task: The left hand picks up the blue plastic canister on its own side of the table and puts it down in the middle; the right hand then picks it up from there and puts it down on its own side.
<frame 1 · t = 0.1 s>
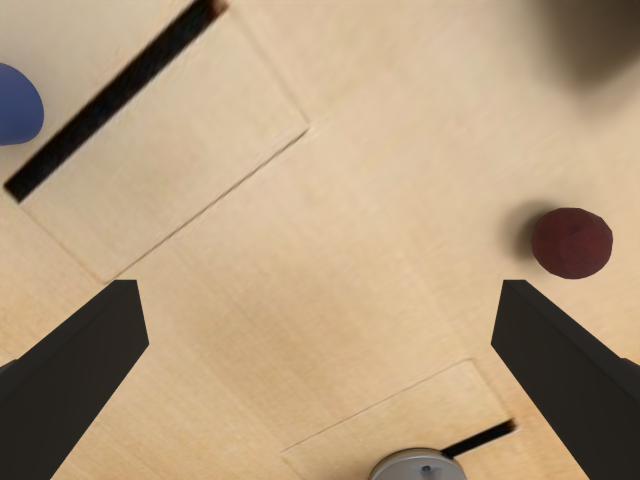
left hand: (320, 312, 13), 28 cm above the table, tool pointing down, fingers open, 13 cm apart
dark maroon ball: (549, 231, 41), on the table
canister: (4, 104, 36), on the table
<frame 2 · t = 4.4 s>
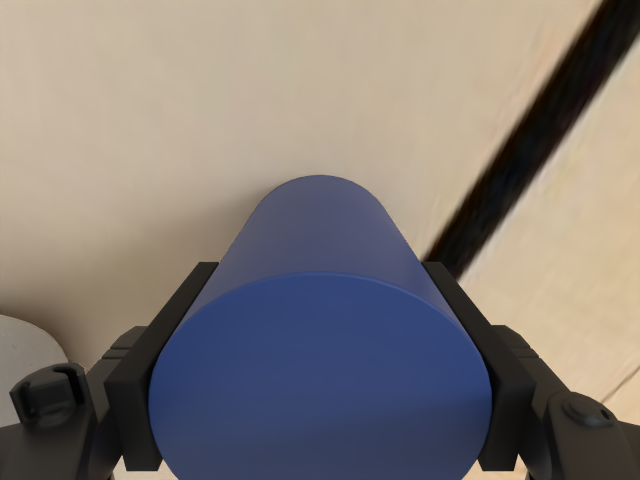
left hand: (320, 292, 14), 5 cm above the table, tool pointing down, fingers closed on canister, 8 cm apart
canister: (320, 250, 19), on the table, touching left hand
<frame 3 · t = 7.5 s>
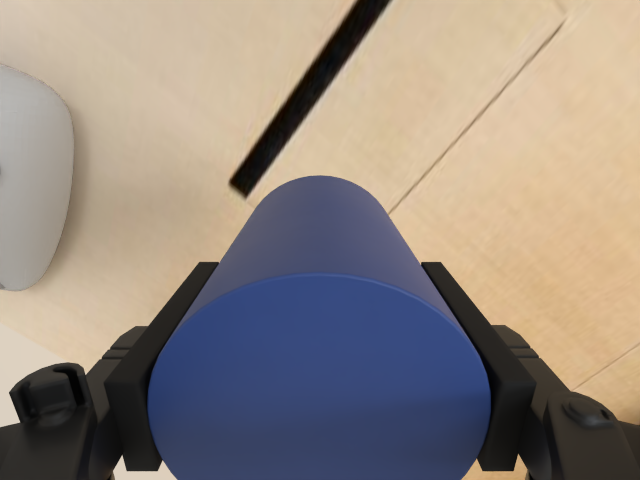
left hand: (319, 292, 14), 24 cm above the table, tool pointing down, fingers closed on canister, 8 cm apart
canister: (319, 250, 19), point 19 cm above the table, touching left hand
projector: (13, 179, 37), on the table
when the left hand's fingers open (6 cm above the table, at t = 11.1 s): canister stays where it is, on the table.
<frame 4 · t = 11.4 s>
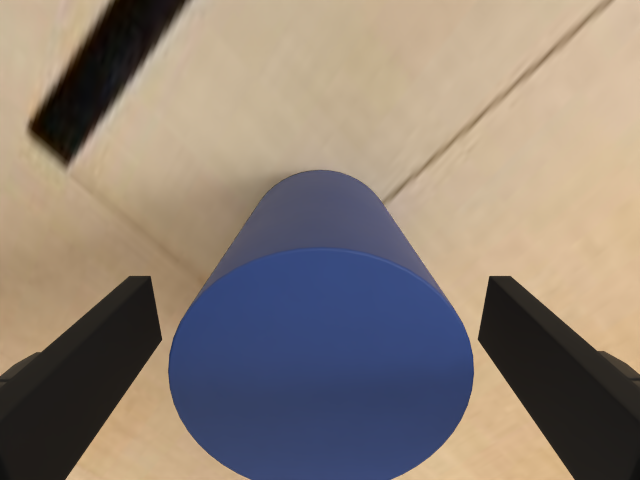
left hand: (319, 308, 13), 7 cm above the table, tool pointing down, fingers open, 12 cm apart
canister: (320, 241, 20), on the table
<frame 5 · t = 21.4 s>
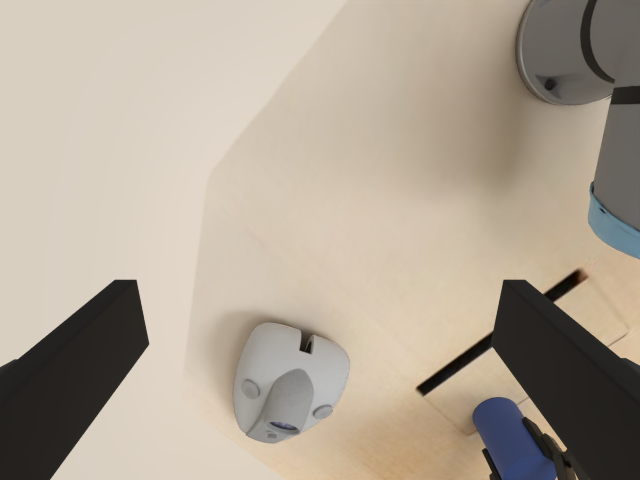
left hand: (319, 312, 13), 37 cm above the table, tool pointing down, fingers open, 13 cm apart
canister: (495, 414, 62), on the table, touching right hand
projector: (285, 374, 59), on the table
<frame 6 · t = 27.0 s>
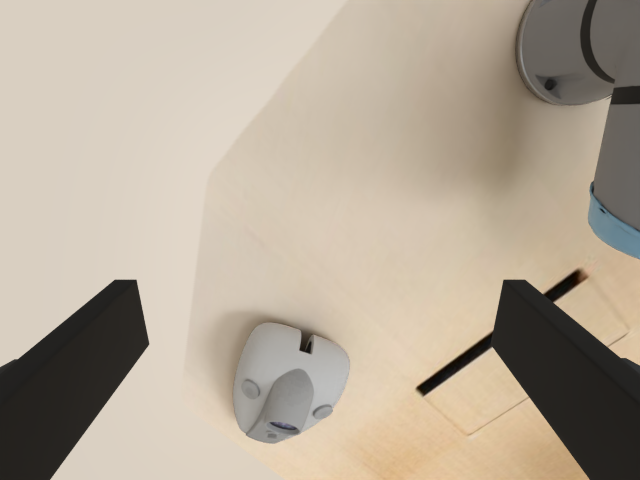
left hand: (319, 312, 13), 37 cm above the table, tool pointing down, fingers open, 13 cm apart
projector: (285, 374, 59), on the table
when the right hand's fingers open (6 cm above the table, at t = 32.9 s): canister stays where it is, on the table.
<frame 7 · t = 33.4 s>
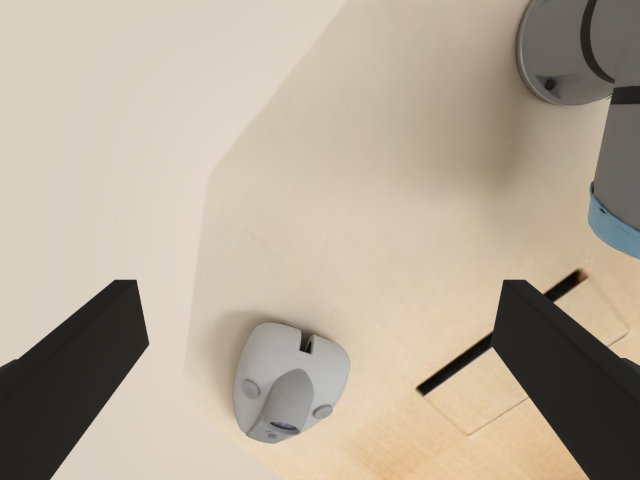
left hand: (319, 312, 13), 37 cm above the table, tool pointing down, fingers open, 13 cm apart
projector: (285, 374, 59), on the table
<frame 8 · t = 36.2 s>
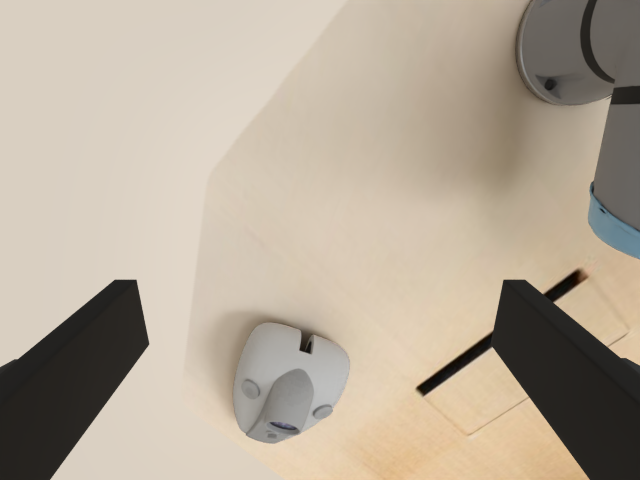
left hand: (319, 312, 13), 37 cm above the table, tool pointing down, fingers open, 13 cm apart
projector: (285, 374, 59), on the table
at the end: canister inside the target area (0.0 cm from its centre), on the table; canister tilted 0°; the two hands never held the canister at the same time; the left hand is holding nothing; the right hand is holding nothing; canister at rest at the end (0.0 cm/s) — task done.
